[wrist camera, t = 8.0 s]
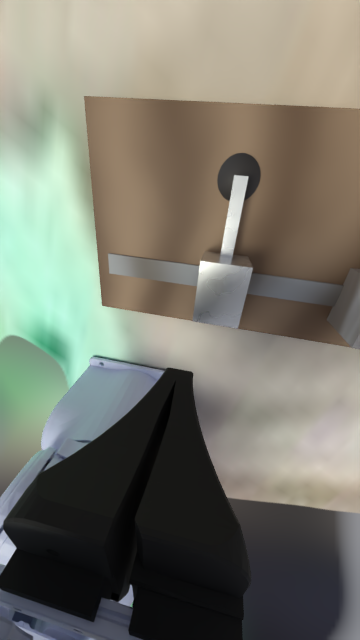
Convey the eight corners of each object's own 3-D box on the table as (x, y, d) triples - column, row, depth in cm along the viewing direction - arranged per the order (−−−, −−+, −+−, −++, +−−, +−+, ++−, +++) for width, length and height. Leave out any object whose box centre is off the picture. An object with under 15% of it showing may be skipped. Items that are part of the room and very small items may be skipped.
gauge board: (108, 300, 21) (72, 329, 16) (94, 104, 14) (26, 51, 9) (381, 345, 18) (439, 396, 13) (521, 126, 11) (742, 65, 7)
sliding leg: (197, 302, 17) (192, 321, 15) (215, 175, 13) (213, 167, 11) (235, 308, 17) (237, 328, 14) (266, 180, 13) (276, 172, 10)
